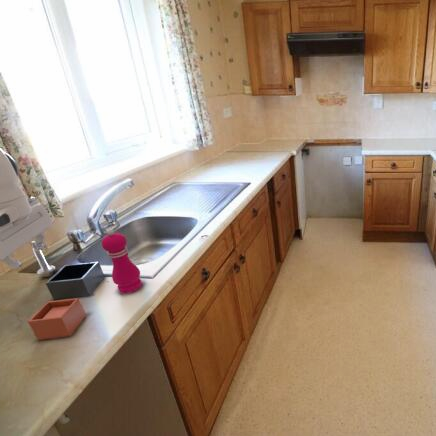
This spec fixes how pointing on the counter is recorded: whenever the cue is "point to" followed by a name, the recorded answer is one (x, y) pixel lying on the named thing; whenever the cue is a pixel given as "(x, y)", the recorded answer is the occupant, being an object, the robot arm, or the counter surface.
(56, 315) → the terracotta block
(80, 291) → the grey bin
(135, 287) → the pepper mill
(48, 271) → the screw
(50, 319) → the terracotta bin
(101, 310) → the counter surface
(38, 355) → the counter surface
